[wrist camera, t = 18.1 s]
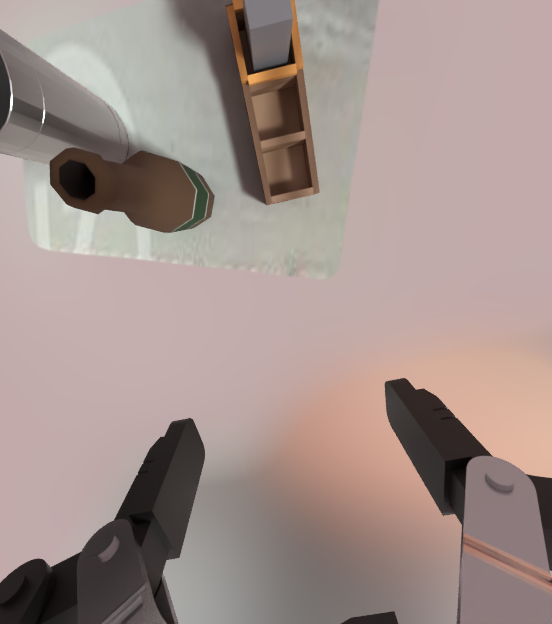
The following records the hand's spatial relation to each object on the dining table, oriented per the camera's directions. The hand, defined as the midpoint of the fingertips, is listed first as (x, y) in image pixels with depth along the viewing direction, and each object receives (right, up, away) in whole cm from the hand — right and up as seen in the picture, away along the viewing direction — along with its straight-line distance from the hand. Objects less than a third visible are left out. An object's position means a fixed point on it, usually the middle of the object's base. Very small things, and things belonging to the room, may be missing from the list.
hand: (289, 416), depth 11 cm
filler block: (-2, +35, +21) cm, 41 cm away
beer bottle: (-13, +21, +27) cm, 37 cm away
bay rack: (0, +30, +24) cm, 38 cm away
